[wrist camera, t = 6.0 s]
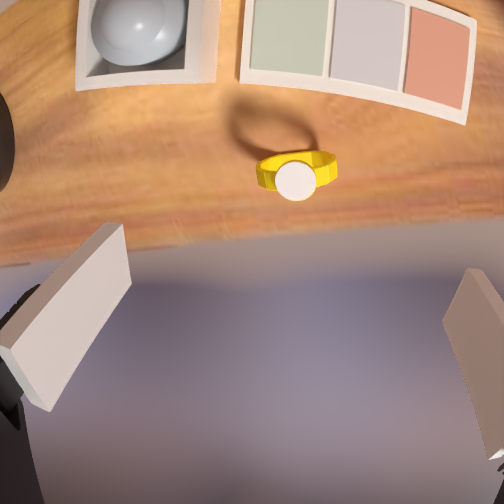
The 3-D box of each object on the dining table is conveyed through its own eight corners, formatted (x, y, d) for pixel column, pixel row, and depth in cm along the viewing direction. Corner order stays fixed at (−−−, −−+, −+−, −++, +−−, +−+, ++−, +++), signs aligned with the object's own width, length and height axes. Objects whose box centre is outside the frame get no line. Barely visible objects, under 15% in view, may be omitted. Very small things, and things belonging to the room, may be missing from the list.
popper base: (107, 85, 24) (75, 91, 20) (113, -15, 19) (82, -25, 14) (215, 81, 23) (198, 83, 19) (224, -29, 18) (209, -49, 14)
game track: (240, 83, 23) (238, 83, 22) (249, -29, 18) (248, -32, 17) (462, 124, 22) (466, 126, 21) (473, 20, 17) (477, 20, 16)
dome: (110, 69, 21) (74, 71, 17) (115, -8, 18) (80, -18, 13) (190, 63, 21) (165, 61, 16) (197, -19, 17) (174, -38, 13)
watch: (266, 178, 27) (252, 205, 22) (260, 147, 26) (244, 167, 21) (336, 172, 26) (340, 198, 21) (333, 140, 24) (336, 158, 19)
